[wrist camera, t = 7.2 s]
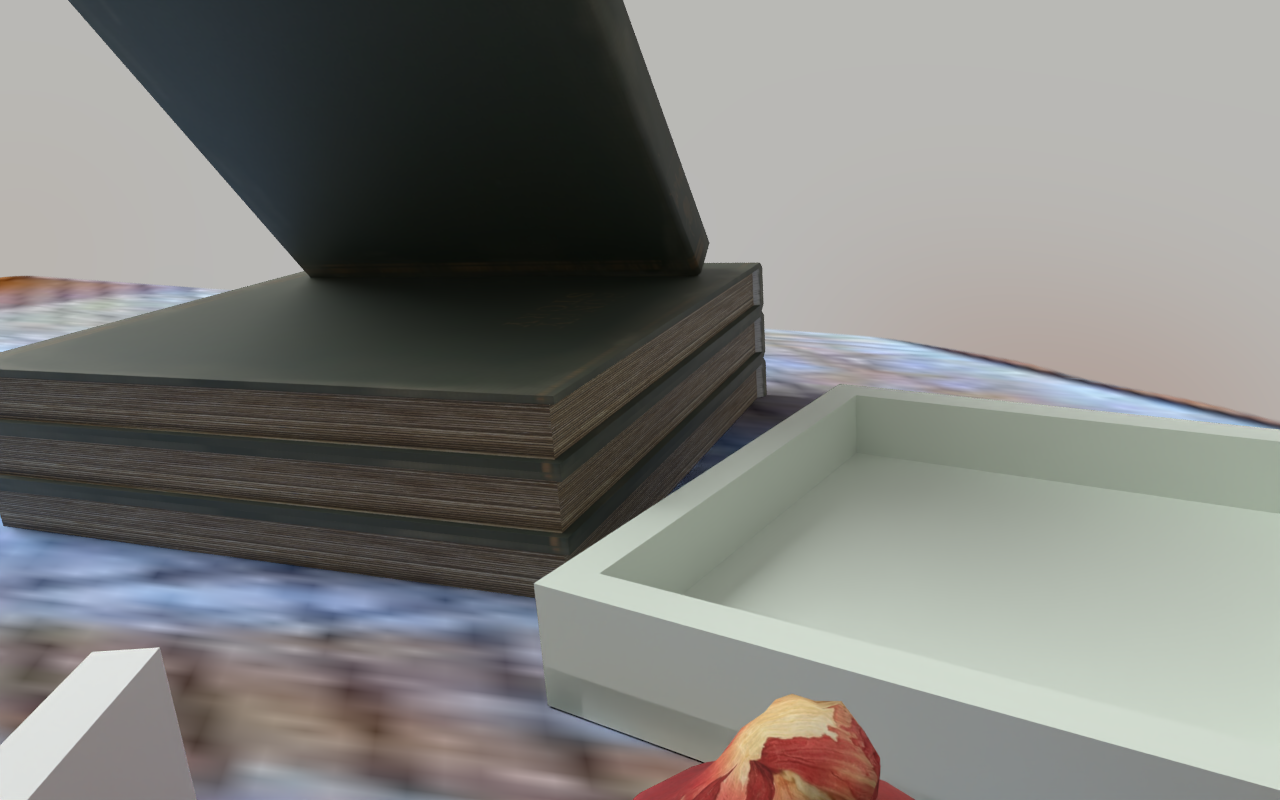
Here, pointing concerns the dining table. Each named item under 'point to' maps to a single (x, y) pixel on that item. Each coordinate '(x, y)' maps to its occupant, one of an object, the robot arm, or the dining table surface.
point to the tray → (953, 599)
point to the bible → (401, 301)
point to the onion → (788, 760)
